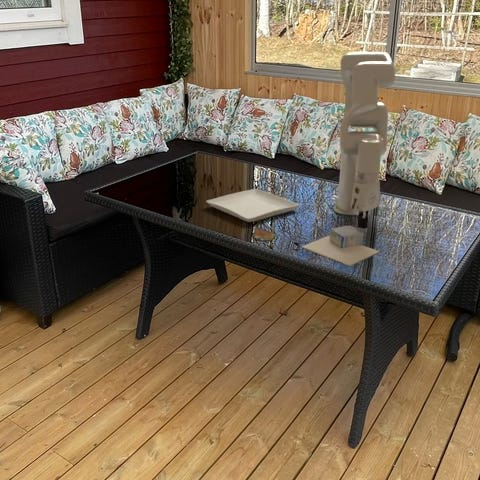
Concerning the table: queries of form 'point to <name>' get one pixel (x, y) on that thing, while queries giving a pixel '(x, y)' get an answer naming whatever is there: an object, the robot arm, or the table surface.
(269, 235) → the shard
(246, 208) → the square plate
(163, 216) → the table surface
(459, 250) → the table surface
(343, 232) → the medicine box
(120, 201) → the table surface
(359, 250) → the mat
